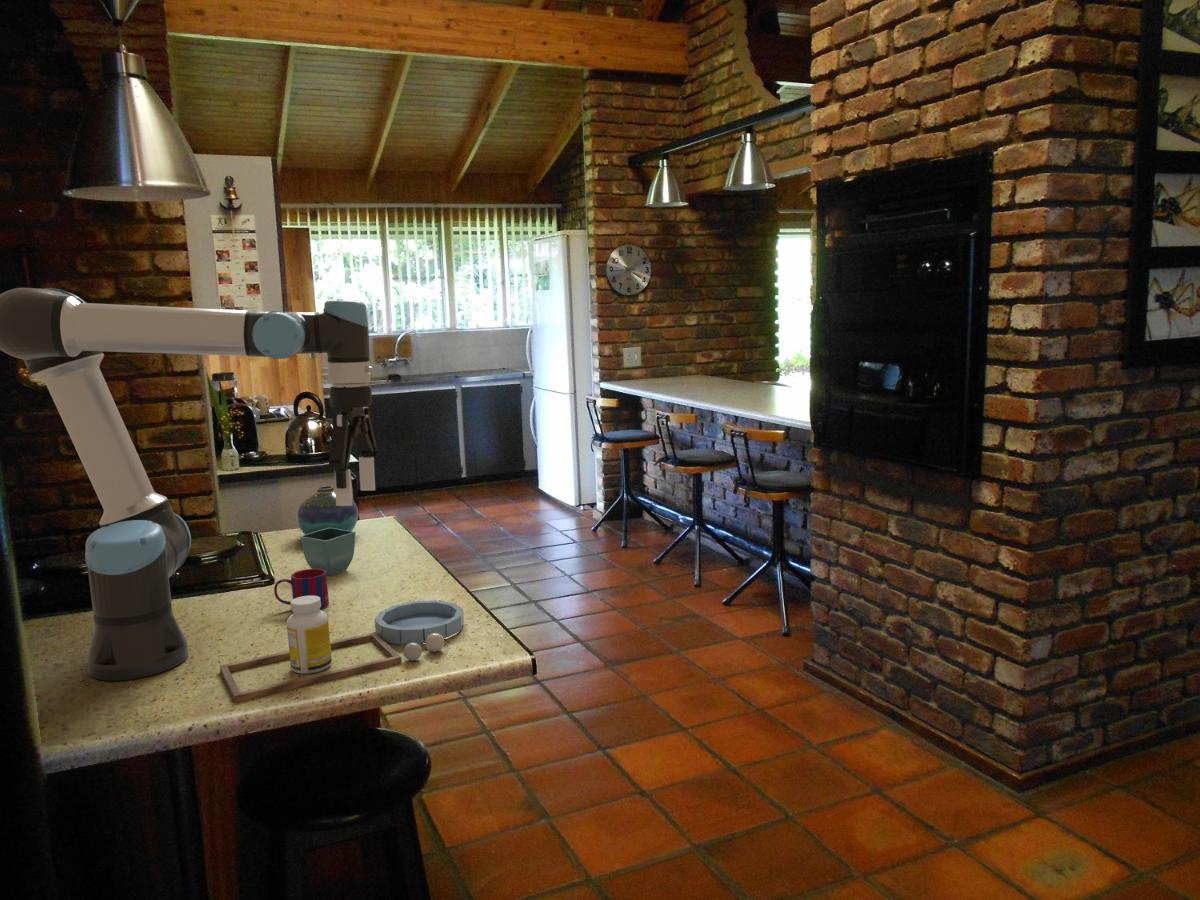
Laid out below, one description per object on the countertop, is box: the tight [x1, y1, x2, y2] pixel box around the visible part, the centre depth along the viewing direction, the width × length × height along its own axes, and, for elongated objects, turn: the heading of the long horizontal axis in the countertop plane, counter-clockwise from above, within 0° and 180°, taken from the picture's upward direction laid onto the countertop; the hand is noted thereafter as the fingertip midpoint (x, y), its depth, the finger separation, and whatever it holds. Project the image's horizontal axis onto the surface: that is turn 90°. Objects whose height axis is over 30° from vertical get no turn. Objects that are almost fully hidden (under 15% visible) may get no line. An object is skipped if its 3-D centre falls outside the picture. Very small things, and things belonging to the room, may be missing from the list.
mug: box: [273, 568, 330, 611], centre depth 176 cm, size 7×10×7 cm
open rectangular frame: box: [219, 631, 403, 703], centre depth 146 cm, size 26×14×1 cm, turn 121°
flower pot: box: [299, 528, 356, 577], centre depth 199 cm, size 9×9×9 cm
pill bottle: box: [286, 596, 333, 675], centre depth 145 cm, size 6×6×12 cm
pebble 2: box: [425, 633, 446, 653], centre depth 151 cm, size 3×3×3 cm
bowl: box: [374, 599, 465, 646], centre depth 162 cm, size 15×15×3 cm
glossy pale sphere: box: [403, 642, 423, 662], centre depth 148 cm, size 3×3×3 cm
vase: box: [296, 485, 359, 535], centre depth 230 cm, size 15×15×13 cm
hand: (356, 497), depth 167 cm, fingers open, 13 cm apart
